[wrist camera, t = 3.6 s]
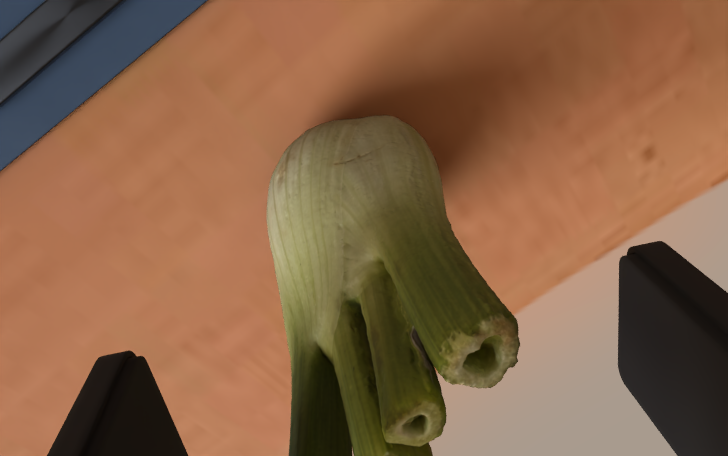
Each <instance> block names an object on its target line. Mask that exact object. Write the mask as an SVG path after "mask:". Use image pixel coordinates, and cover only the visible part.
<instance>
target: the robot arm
mask: <svg viewBox="0 0 728 456" xmlns="http://www.w3.org/2000/svg"><path fill="white" fill-rule="evenodd" d="M618 328H619V329H618V330H619V331H618V332H619V333H618V368H619V372H620V376H621V378H622V380H623V382H624V384H625V385H626V387H627V388H628V389H629V391H630V392H631V394H632V395H633V396H634V397H635V399H636V400H637V402H638V403H639V404H640V406H641V407H642V408H643V410H644V411H645V412H646V414H647V415H648V416H649V418H650V419H651V421H652V422H653V423H654V425H655V426H656V427H657V429H658V430H659V431H660V433H661V434H662V435H663V437H664V438H665V439H666V441H667V442H668V443H669V444H670V446H671V448H672V449H673V450H674V451H675V453H676V454H677V455H678V456H728V293H727V292H726V291H724V290H723V289H722V288H721V287H719V286H718V285H717V284H716V283H714V282H713V281H712V280H711V279H709V278H708V277H707V276H705V275H704V274H703V273H702V272H701V271H699V270H698V269H697V268H696V267H694V266H693V265H692V264H691V263H689V262H688V261H687V260H686V259H684V258H683V257H682V256H681V255H680V254H678V253H677V252H676V251H674V250H673V249H672V248H671V247H670V246H668V245H667V244H666V243H664V242H662V241H657V242H652V243H648V244H642V245H638V246H633V247H630V248H629V249H628V252H627V255H626V256H622V257H621V259H620V262H619V327H618ZM47 456H188V454H187V452H186V449H185V447H184V445H183V443H182V440H181V438H180V436H179V434H178V431H177V429H176V427H175V424H174V422H173V420H172V418H171V415H170V413H169V411H168V409H167V406H166V404H165V402H164V399H163V397H162V395H161V393H160V390H159V388H158V386H157V384H156V381H155V379H154V377H153V374H152V372H151V370H150V368H149V365H148V363H147V361H146V359H145V358H144V357H143V356H138V357H136V355H135V354H134V353H133V352H132V351H125V352H120V353H115V354H110V355H106V356H101V357H99V358H98V359H97V361H96V362H95V364H94V366H93V368H92V370H91V372H90V374H89V376H88V378H87V380H86V382H85V384H84V385H83V387H82V389H81V391H80V393H79V395H78V397H77V399H76V401H75V403H74V405H73V407H72V409H71V411H70V412H69V414H68V416H67V418H66V420H65V422H64V424H63V426H62V428H61V430H60V432H59V434H58V436H57V438H56V439H55V441H54V443H53V445H52V447H51V449H50V451H49V453H48V455H47Z"/></svg>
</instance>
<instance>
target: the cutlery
mask: <svg viewBox="0 0 728 456" xmlns="http://www.w3.org/2000/svg"><path fill="white" fill-rule="evenodd" d="M125 1H126V0H45V1H44V2H43V3H41V4H40V5H39V6H38V7H37V8H36V9H35V10H34V11H32V12H31V13H30V14H29V15H28V16H27V17H26V18H24V19H23V20H22V21H21V22H20V23H19V24H18V25H17V26H15V27H14V28H13V29H12V30H11V31H10V32H9V33H7V34H6V35H5V36H4V37H3V38H2V39H1V40H0V108H1V107H2V106H3V105H4V104H5V103H6V102H8V101H9V100H10V99H11V98H12V97H13V96H15V95H16V94H17V93H18V92H19V91H20V90H22V89H23V88H24V87H25V86H26V85H28V84H29V83H30V82H31V81H32V80H33V79H35V78H36V77H37V76H38V75H39V74H40V73H42V72H43V71H44V70H45V69H46V68H48V67H49V66H50V65H51V64H52V63H53V62H55V61H56V60H57V59H58V58H59V57H60V56H62V55H63V54H64V53H65V52H66V51H67V50H69V49H70V48H71V47H72V46H73V45H75V44H76V43H77V42H78V41H79V40H80V39H82V38H83V37H84V36H85V35H86V34H87V33H89V32H90V31H91V30H92V29H93V28H94V27H96V26H97V25H98V24H99V23H100V22H102V21H103V20H104V19H105V18H106V17H107V16H109V15H110V14H111V13H112V12H113V11H114V10H116V9H117V8H118V7H119V6H120V5H122V4H123V3H124V2H125Z"/></svg>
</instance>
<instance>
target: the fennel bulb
mask: <svg viewBox="0 0 728 456" xmlns="http://www.w3.org/2000/svg"><path fill="white" fill-rule="evenodd" d="M267 226H268V236H269V240H270V247H271V251H272V255H273V260H274V265H275V273H276V278H277V283H278V288H279V294H280V298H281V304H282V311H283V318H284V325H285V330H286V335H287V342H288V348H289V353H290V357H291V371H292V401H291V428H290V445H289V456H352V448H353V453H354V456H433V455H432V451H431V447H430V445H429V442H430V441H432V440H434V439H435V438H436V437H439V436H440V435H441V434H442V432H443V427H444V425H445V423H446V407H445V403H444V399H443V397H442V393H441V387H440V384H439V381H438V377H437V374H436V371H435V368H436V369H437V371H438V373H439V374H440V375H441V376H443V378H444V379H445V381H446V382H449V383H451V384H460V385H461V384H462V385H465V386H470V387H477V388H491V387H493V386H495V385H496V384H497V383H498V382H500V381H501V380H502V378H503V375H504V374H505V373H506V371H507V369H508V368H509V367H514V366H515V364H516V363H517V362H518V360H517V354H518V349H519V346H520V342H519V338H518V324H517V320H516V318H515V317H514V316H513V315H512V313H511V312H510V311H509V310H508V309H507V308H506V306H505V305H504V304H503V303H502V302H501V301H500V299H499V298H498V297H497V296H496V294H495V293H494V291H493V290H492V289H491V288H490V287H489V286H488V285H487V283H486V281H485V280H484V279H483V278H482V276H481V275H480V273H479V272H478V270H477V269H476V268H475V267H474V265H473V264H472V262H471V261H470V259H469V257H468V256H467V255H466V253H465V252H464V250H463V248H462V246H461V245H460V243H459V241H458V239H457V238H456V237H455V235H454V233H453V231H452V229H451V224H450V222H449V220H448V218H447V215H446V209H445V203H444V197H443V190H442V181H441V177H440V174H439V169H438V165H437V163H436V161H435V158H434V156H433V154H432V152H431V150H430V149H429V147H428V145H427V143H426V142H425V140H424V139H423V138H422V137H421V135H420V134H419V133H418V132H417V131H416V130H415V129H414V128H413V127H412V126H410V125H408V124H407V123H405V122H402V121H401V120H400V119H399V118H397V117H394V116H388V115H382V116H377V115H376V116H369V117H364V118H358V119H344V120H335V121H330V122H326V123H323V124H320V125H318V126H315V127H313V128H311V129H308V130H307V131H306V132H305V133H304V134H302V135H301V136H300V137H299V138H298V139H296V140H295V141H294V142H293V143H292V144H291V145H290V146H289V147H288V148H287V149H286V151H285V152H284V153H283V155H282V157H281V159H280V161H279V163H278V164H277V166H276V168H275V170H274V172H273V175H272V177H271V180H270V184H269V189H268V201H267ZM434 367H435V368H434Z"/></svg>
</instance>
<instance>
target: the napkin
mask: <svg viewBox="0 0 728 456" xmlns="http://www.w3.org/2000/svg"><path fill="white" fill-rule="evenodd" d="M44 1H45V0H0V40H1V39H2V38H3V37H4V36H5V35H6V34H7V33H9V32H10V31H11V30H12V29H13V28H14V27H15V26H17V25H18V24H19V23H20V22H21V21H22V20H23V19H24V18H26V17H27V16H28V15H29V14H30V13H31V12H32V11H34V10H35V9H36V8H37V7H38V6H39V5H40V4H41V3H43V2H44ZM206 1H207V0H126V1H125V2H124V3H123V4H122V5H120V6H119V7H118V8H117V9H116V10H114V11H113V12H112V13H111V14H110V15H109V16H107V17H106V18H105V19H104V20H103V21H102V22H100V23H99V24H98V25H97V26H96V27H94V28H93V29H92V30H91V31H90V32H89V33H87V34H86V35H85V36H84V37H83V38H82V39H80V40H79V41H78V42H77V43H76V44H75V45H73V46H72V47H71V48H70V49H69V50H67V51H66V52H65V53H64V54H63V55H62V56H60V57H59V58H58V59H57V60H56V61H55V62H53V63H52V64H51V65H50V66H49V67H48V68H46V69H45V70H44V71H43V72H42V73H40V74H39V75H38V76H37V77H36V78H35V79H33V80H32V81H31V82H30V83H29V84H28V85H26V86H25V87H24V88H23V89H22V90H20V91H19V92H18V93H17V94H16V95H15V96H13V97H12V98H11V99H10V100H9V101H8V102H6V103H5V104H4V105H3V106H2V107H1V108H0V171H1V170H2V169H3V168H5V167H6V166H7V165H8V164H10V163H11V162H12V161H13V160H14V159H16V158H17V157H18V156H19V155H20V154H22V153H23V152H24V151H25V150H27V149H28V148H29V147H30V146H31V145H33V144H34V143H35V142H36V141H37V140H39V139H40V138H41V137H42V136H44V135H45V134H46V133H47V132H48V131H50V130H51V129H52V128H53V127H54V126H56V125H57V124H58V123H59V122H61V121H62V120H63V119H64V118H65V117H67V116H68V115H69V114H70V113H71V112H73V111H74V110H75V109H76V108H78V107H79V106H80V105H81V104H82V103H84V102H85V101H86V100H87V99H88V98H90V97H91V96H92V95H93V94H95V93H96V92H97V91H98V90H99V89H101V88H102V87H103V86H104V85H105V84H107V83H108V82H109V81H110V80H112V79H113V78H114V77H115V76H116V75H118V74H119V73H120V72H121V71H122V70H124V69H125V68H126V67H127V66H129V65H130V64H131V63H132V62H133V61H135V60H136V59H137V58H138V57H139V56H141V55H142V54H143V53H144V52H146V51H147V50H148V49H149V48H150V47H152V46H153V45H154V44H155V43H156V42H158V41H159V40H160V39H161V38H163V37H164V36H165V35H166V34H167V33H169V32H170V31H171V30H172V29H173V28H175V27H176V26H177V25H178V24H180V23H181V22H182V21H183V20H184V19H186V18H187V17H188V16H189V15H190V14H192V13H193V12H194V11H195V10H197V9H198V8H199V7H200V6H201V5H203V4H204V3H205V2H206Z"/></svg>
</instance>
